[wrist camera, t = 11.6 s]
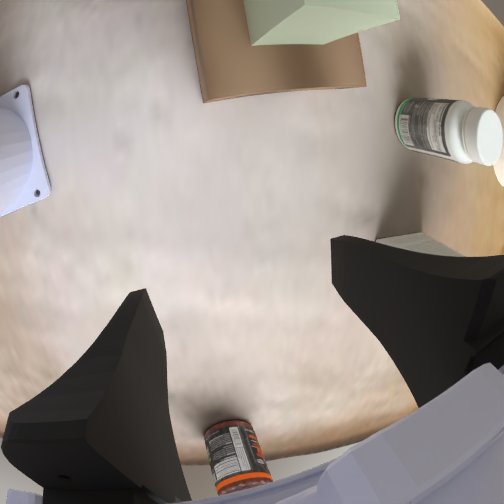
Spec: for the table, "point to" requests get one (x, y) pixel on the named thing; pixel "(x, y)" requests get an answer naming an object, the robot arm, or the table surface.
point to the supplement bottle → (235, 457)
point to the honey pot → (503, 163)
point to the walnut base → (264, 57)
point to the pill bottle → (450, 130)
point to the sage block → (314, 19)
